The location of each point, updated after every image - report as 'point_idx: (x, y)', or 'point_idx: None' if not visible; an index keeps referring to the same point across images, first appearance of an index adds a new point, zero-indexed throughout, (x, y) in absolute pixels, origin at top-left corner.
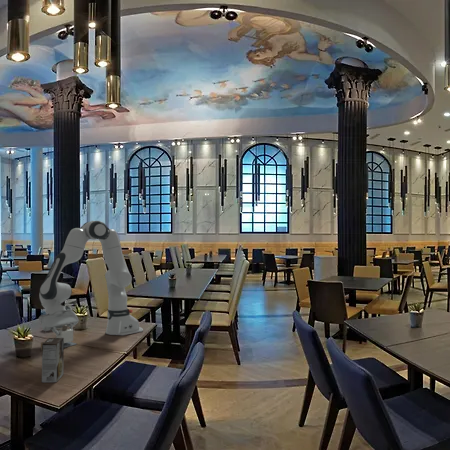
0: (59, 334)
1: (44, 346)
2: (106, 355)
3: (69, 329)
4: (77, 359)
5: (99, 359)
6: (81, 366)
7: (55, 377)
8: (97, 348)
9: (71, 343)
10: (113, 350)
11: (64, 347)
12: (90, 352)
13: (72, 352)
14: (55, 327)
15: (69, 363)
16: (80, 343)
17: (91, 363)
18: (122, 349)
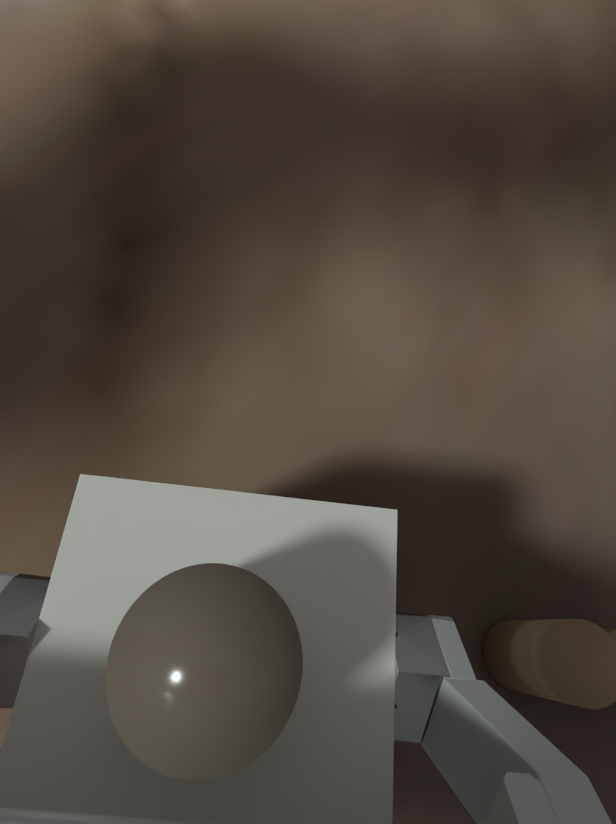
0: None
1: None
2: (275, 28)
3: (78, 615)
4: (485, 131)
5: (376, 22)
6: (547, 36)
7: None
8: (144, 181)
9: None
10: (129, 47)
11: None
12: (288, 158)
13: (393, 288)
14: (530, 819)
15: (577, 121)
16: (46, 493)
17: (468, 20)
18: (65, 9)
